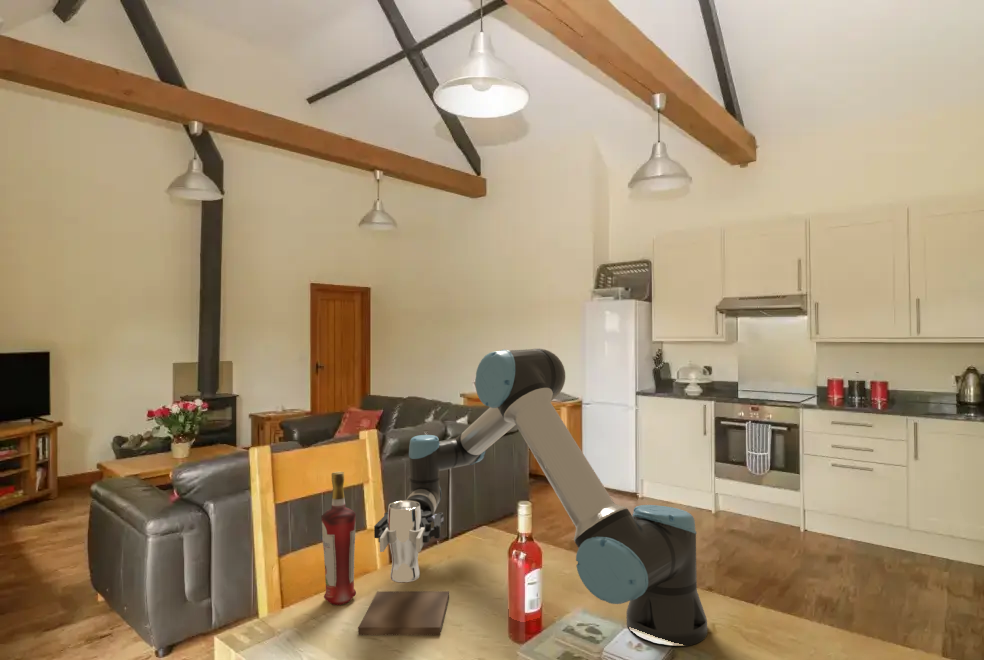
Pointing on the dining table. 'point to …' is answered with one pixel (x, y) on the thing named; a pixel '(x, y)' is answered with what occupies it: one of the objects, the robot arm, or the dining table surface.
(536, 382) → the robot arm
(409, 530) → the silver metal tumbler
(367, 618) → the walnut board
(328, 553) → the liquor
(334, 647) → the dining table surface
